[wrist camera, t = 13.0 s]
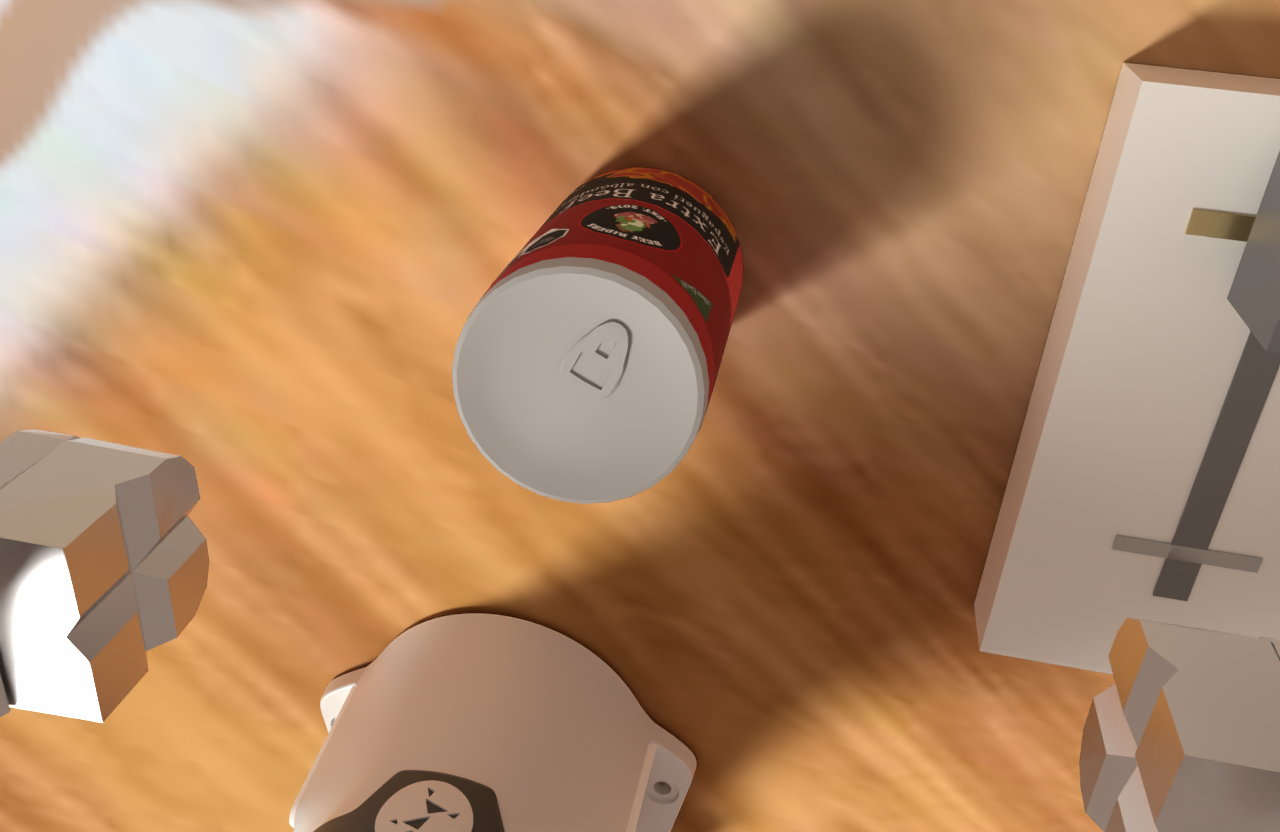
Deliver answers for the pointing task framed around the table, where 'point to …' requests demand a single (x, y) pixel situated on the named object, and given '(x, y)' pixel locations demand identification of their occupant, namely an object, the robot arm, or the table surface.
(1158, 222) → the slider panel
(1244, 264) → the block
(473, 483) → the table surface
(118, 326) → the table surface
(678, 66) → the table surface
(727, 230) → the canned food
